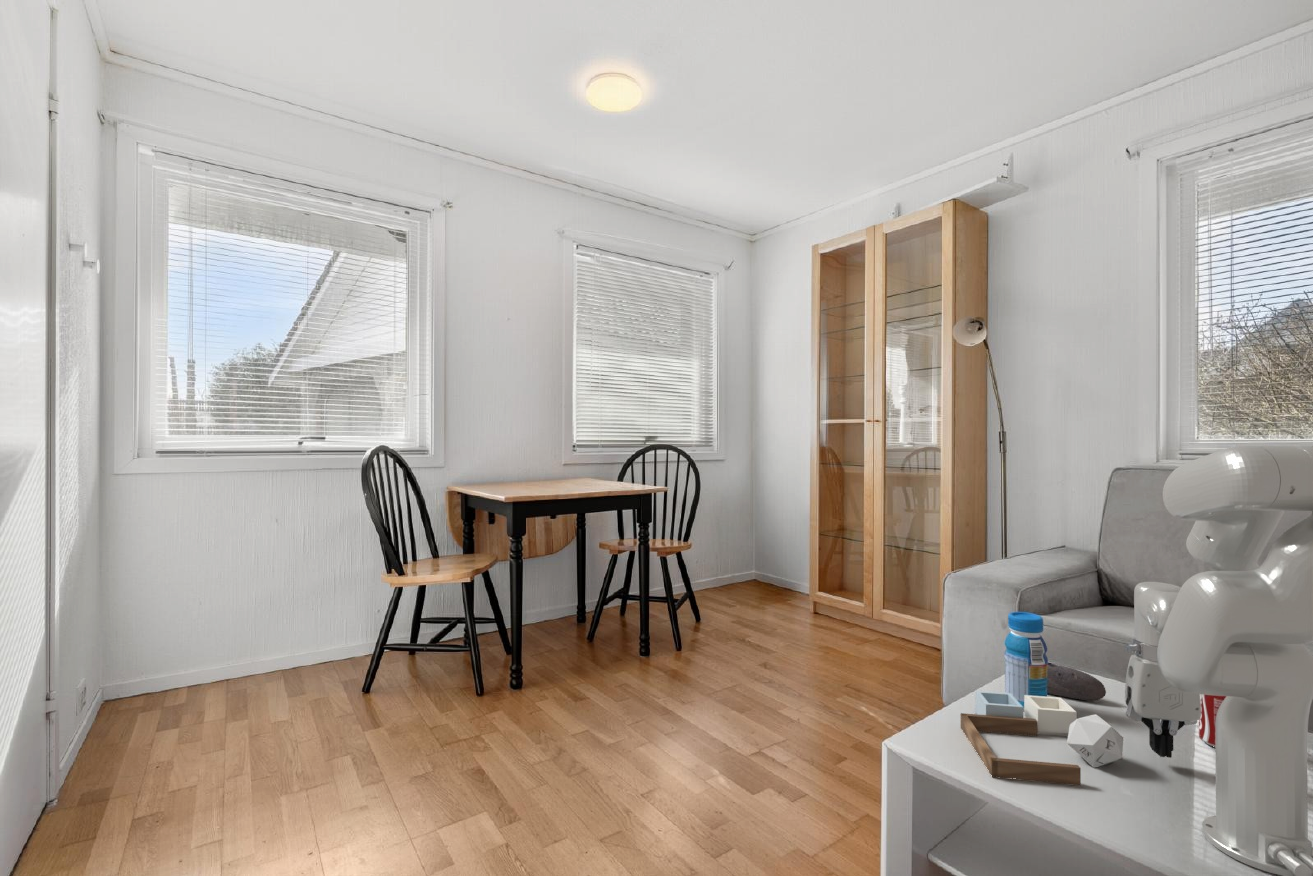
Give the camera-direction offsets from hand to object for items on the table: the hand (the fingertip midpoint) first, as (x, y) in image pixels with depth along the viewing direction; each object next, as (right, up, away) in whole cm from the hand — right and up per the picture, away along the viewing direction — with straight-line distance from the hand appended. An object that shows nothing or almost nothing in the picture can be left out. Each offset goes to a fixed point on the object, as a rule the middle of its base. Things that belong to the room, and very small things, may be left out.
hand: (1161, 753), depth 112 cm
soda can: (+18, -3, +8) cm, 20 cm away
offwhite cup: (-11, -3, +15) cm, 19 cm away
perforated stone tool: (+3, -3, +31) cm, 31 cm away
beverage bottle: (-9, -3, +26) cm, 28 cm away
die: (-11, -3, +2) cm, 11 cm away
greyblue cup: (-20, -3, +18) cm, 27 cm away
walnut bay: (-24, -3, +5) cm, 24 cm away
